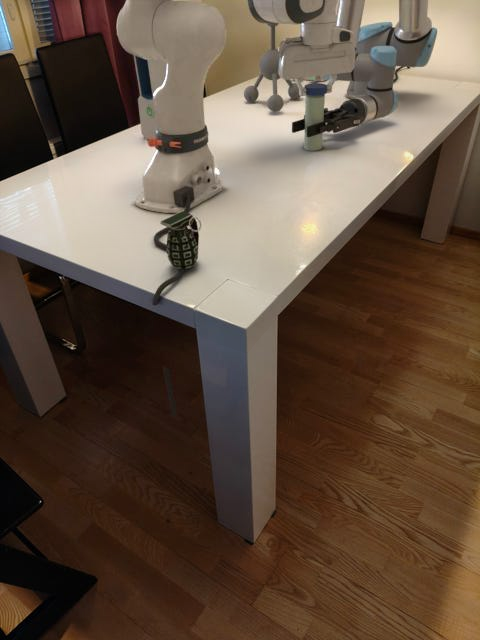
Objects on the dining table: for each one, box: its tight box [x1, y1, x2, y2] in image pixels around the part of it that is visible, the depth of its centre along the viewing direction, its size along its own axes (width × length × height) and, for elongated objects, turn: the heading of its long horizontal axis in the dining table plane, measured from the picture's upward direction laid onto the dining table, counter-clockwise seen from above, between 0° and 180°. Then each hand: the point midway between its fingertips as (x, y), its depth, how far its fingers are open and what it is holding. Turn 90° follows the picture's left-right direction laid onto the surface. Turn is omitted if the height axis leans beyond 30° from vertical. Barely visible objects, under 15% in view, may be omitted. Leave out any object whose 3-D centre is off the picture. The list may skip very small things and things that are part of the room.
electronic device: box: [133, 55, 167, 140], centre depth 143 cm, size 12×8×30 cm, turn 47°
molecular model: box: [243, 23, 302, 113], centre depth 169 cm, size 24×22×30 cm
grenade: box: [159, 211, 202, 271], centre depth 88 cm, size 7×6×10 cm
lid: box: [303, 82, 328, 96], centre depth 130 cm, size 6×6×2 cm
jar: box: [303, 94, 326, 152], centre depth 135 cm, size 5×5×16 cm
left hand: (315, 93), depth 131 cm, fingers closed on lid, 6 cm apart
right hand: (300, 129), depth 133 cm, fingers closed on jar, 5 cm apart
